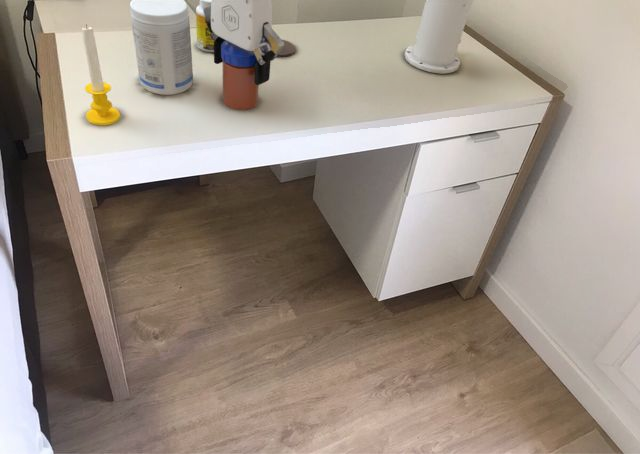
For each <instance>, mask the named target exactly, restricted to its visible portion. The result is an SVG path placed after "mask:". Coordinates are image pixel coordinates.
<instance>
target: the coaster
mask: <svg viewBox="0 0 640 454" xmlns="http://www.w3.org/2000/svg"><path fill="white" fill-rule="evenodd" d="M281 40H282V41H283V42H284V47H283V48H282V50H281V52H280V53H279V56H277V57H276V58H287V57H291V56H292V55H294V54H295V52H296V46H295V44H293V43H292V42H290V41H288V40H285V39H281ZM269 46H270V48H271V47H272V45H271V43H269ZM261 48H262V47H261ZM262 54H263V55H264V54H265V52H264V50H263V48H262Z"/></svg>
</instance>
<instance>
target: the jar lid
mask: <svg viewBox="0 0 640 454" xmlns="http://www.w3.org/2000/svg"><path fill="white" fill-rule="evenodd" d="M260 50H261V52H262V48H260ZM262 53H263V52H262ZM221 58H222V59H223V60H224V61H225V62H226V63H228V64H230V65H234V66H239V67H249V66H254V65H255V63H256V62H258V60H257V58H256V56H255V54H254V52H253V51H248V50H245V49H243V48H241V47H239V46H237V45H235V44H233V43H230V42H228V41H227V40H226V41H224V42H223V43H222V44H221Z"/></svg>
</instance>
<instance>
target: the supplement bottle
mask: <svg viewBox="0 0 640 454" xmlns="http://www.w3.org/2000/svg"><path fill="white" fill-rule="evenodd" d="M207 7H211V0H199V4H198V5H197V6H196V7H195V8H196V9H195V20H196V21H195V22H196V24H195V25H196V27H195V28H196V46H197V48H198V49H200V50H201V51H203V52H207V53H214V41H213V40H212V39H211V32H210V30H209V28H208V27H207V21H206V18H205V15H204V12H203V9H204V8H207Z"/></svg>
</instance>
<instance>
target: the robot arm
mask: <svg viewBox="0 0 640 454" xmlns="http://www.w3.org/2000/svg"><path fill="white" fill-rule="evenodd" d="M272 2H273V1H272V0H211V7H207V8H204V9H203V12H204V15H205V18H206V21H207V27H208V28H209V30H210V32H211V39H212V40H213V41H214V52H213V63H214V64H216V65H218V64H221V63H222V64H223V59H222V58H221V44H222V43H223V42H224V41H226V40H227V41H228V42H230V43H233V44H235V45H237V46H239V47H241V48H243V49H245V50H248V51H253V52H254V54H255V56H256V58H257V60H258V62H256V63H255V76H254V83H255V84H256V85H259V86H260V85H262V84H265V83H267V82H268V81H269V80H270V76H271V63H272V61H274V60H275V59H276V58H278V57H277V56H279V53H280V52H281V50H282V48H283V47H284V42H283V41H282V40H283V39H282V38H281V37H280V36H279V34H278V33H277V32H276V31H275V30H274V28H273V3H272ZM473 2H474V0H425V2H424V6H423V10H422V13H421V17H420V20H419V25H418V29H417V32H416V37H415V40H414V43H413V45H409V46H408V47H407V48H406V49H405V51H404V58H405V60H406V62H407V63H409V64H410V65H411V66H413V67H415V68H417V69H419V70H422V71H424V72H428V73H433V74H441V75H442V74H451V73H454V72H456V71H457V70H458V69H459V67H460V64H461V61H460V59H459V57H458V56H457V52H458V47H459V46H460V44H461V43H462V35H463V32H464V29H465V26H466V23H467V20H468V17H469V13H470V11H471V9H472V4H473ZM269 43H271V45H272V47H271V48H270V46H269ZM261 47H262V48H263V50H264V52H265V54H264V53H263V52H261V50H260V48H261Z"/></svg>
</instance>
